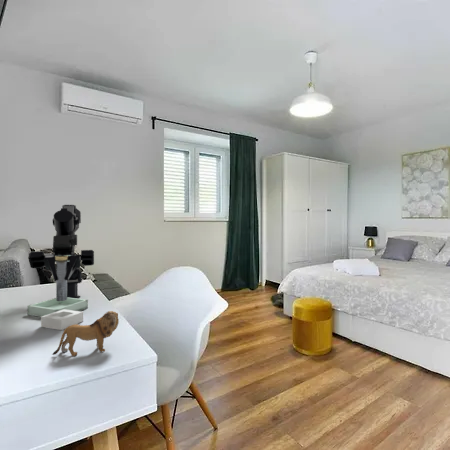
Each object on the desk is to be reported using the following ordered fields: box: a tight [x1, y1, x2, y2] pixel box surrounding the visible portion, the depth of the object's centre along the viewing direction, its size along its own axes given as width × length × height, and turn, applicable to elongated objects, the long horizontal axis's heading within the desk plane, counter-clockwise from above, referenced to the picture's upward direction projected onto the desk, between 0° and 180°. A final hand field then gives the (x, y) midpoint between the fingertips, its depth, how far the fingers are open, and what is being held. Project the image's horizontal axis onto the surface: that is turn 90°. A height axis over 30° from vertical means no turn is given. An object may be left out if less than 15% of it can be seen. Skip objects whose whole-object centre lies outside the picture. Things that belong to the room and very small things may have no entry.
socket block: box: [40, 309, 84, 331], centre depth 90 cm, size 8×8×3 cm
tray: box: [27, 297, 89, 318], centre depth 103 cm, size 13×13×3 cm
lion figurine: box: [51, 310, 120, 357], centre depth 72 cm, size 15×5×9 cm, turn 117°
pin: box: [55, 255, 68, 301], centre depth 94 cm, size 4×4×14 cm
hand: (61, 280), depth 92 cm, fingers closed on pin, 3 cm apart
